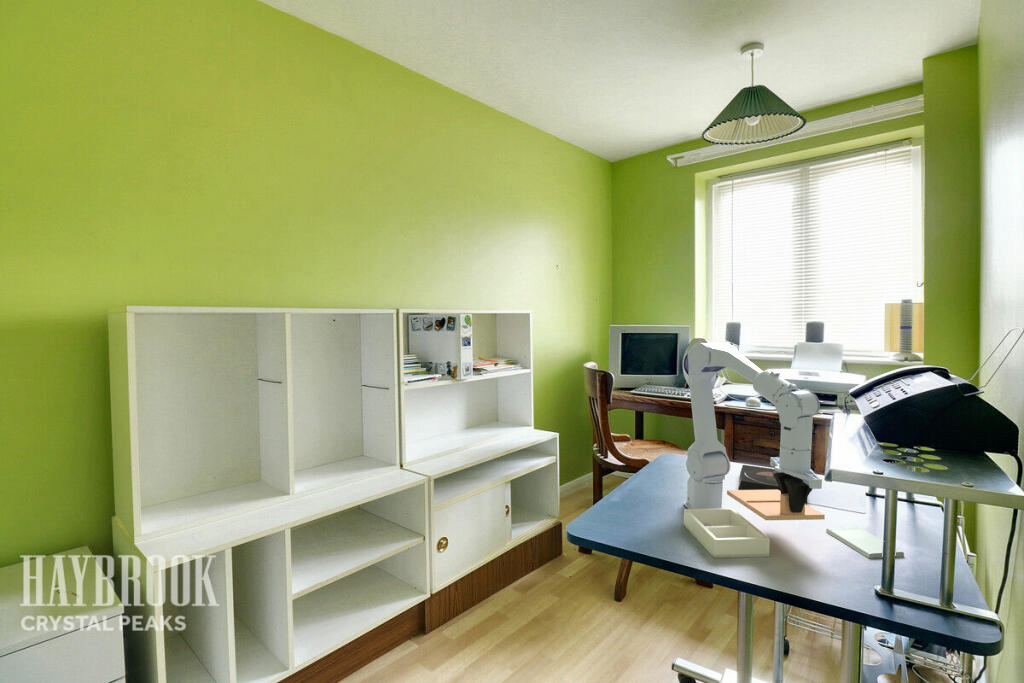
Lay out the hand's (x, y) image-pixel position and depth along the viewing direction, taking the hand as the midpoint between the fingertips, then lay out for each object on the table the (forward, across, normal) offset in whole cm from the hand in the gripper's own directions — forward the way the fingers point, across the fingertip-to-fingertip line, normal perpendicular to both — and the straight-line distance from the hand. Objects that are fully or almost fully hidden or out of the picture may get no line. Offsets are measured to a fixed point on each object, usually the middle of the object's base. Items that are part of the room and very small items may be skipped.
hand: (792, 509), depth 105 cm
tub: (+10, -7, -11) cm, 17 cm away
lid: (+2, -7, 0) cm, 8 cm away
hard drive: (+11, -4, +20) cm, 23 cm away
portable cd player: (+11, -39, +19) cm, 44 cm away
